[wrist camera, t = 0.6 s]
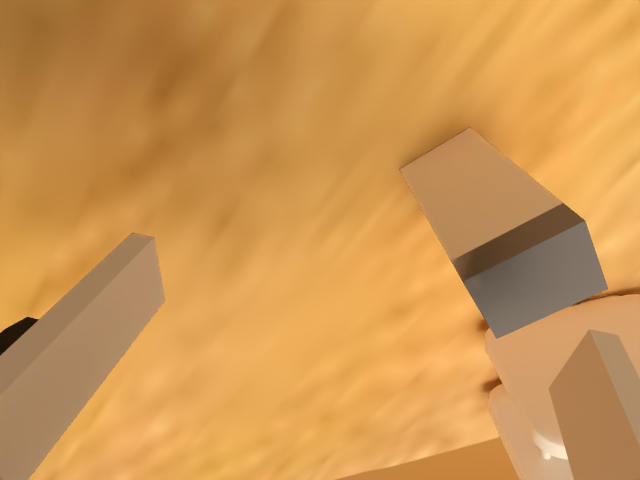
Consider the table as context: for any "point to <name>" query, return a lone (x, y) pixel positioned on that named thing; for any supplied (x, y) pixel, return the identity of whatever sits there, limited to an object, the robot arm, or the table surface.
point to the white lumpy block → (549, 378)
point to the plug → (504, 233)
